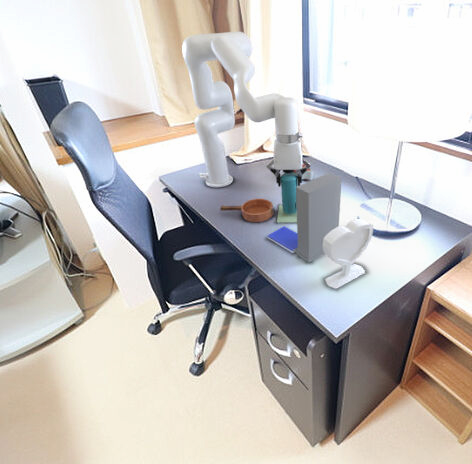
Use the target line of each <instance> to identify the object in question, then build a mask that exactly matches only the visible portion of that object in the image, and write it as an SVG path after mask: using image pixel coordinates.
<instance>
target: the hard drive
mask: <svg viewBox="0 0 472 464" xmlns="http://www.w3.org/2000/svg"><path fill="white" fill-rule="evenodd" d="M267 240H269V241H271V242H273V243H275V244H276V245H277V246H280V247H282V248H283V249H285V250H287V251H288V252H290V253H291V254H295V253H296V252H297V251H298V235H297V231H294V230H292V229H290V228H288V227H286V226H282V227H280V228H278V229H277V230H275V231H272V232H271V233H269V234H268V235H267Z"/></svg>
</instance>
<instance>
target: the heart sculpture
mask: <svg viewBox="0 0 472 464" xmlns="http://www.w3.org/2000/svg"><path fill="white" fill-rule="evenodd" d="M373 234H374V225H373V224H372V223H370V222H369V221H366V220H365V219H363V218H356V219H352V220H350V221H349V222H347V224H346V225H345V226H343V225H339V227H336V228H335V229H333V230H332V231H330V232H329V233H328V234H327V235H326V236H325V237H324V239H323V251H324V254H325V256H326V257H327V258H329V259H330V260H331V261H332V262H334V263H335V264H337V265H339V266H341V270H339V271H337V272H336V273H334V274H332V275H330V276H328V277H326V278H325V279H324V280H325V283H326V285H327V286H328V287H329V288H333V289H338V288H341V287H342V286H344V285H346V284H347V283H349V282H351V281H353V280H355V279H357V278H358V277H360V276H362V275H364V274H365V273H366V271H365V269H364V267H363V266H361V265H359V264H356V263H355V262H356V261H357V260H358V259H359V257H360V256H361V255H362V254H363V253H364V251H365V250H366V249H367V248H368V245H369V244H370V242H371V241H372V237H373Z"/></svg>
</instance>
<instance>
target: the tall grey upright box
mask: <svg viewBox="0 0 472 464" xmlns="http://www.w3.org/2000/svg"><path fill="white" fill-rule="evenodd" d="M341 194H342V177H340V176H337V175H335V174H333V173H330V172H327V173H325V174H323V175H321V176H318V177H316V178H313V179H312V180H308V181H307V182H304V183H301V184H300V186H297V187H296V203H297V223H296V230H297V231H296V233H297V235H298V251H296V252H295V253H296V255H297V256H298V257H300V258H301V259H302V260H304V261H305V262H307V263H311V262H312V261H314V260H316V259H317V258H319V257H320V256H322V255H324V254H325V253H324V251H323V239H324V237H325V236H326V235H327V234H328V233H329V232H330V231H332V230H333V229H335V228H336V227H339V226H340V211H341Z"/></svg>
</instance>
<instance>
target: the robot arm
mask: <svg viewBox="0 0 472 464" xmlns="http://www.w3.org/2000/svg"><path fill="white" fill-rule="evenodd" d="M181 53H182V57H183V60H184V64H185V66H186V68H187V71H188V74H189V80H190V86H191V91H192V96H193V97H192V98H193V100H194V104H195V106H196V107H197V109H199V110H202V111H203V110H204V111H205V110H209V111H205V112H201V113H200V114H197V116H195V118H194V122H193V123H194V127H195V130H196V133H197V136H198V139H199V142H200V146H201V149H202V155H203V160H204V164H205V170H206V172H199V173H198V177H199V178H200V180H205V181H204V182H205V185H206V186H207V187H210V188H223V187H227V186H229V185H230V184H231V183H233V181H234V177H233V176H232V175H230V173H229V167H228V160H227V155H226V149H225V144H224V142H223V140H222V139H221V138H220V137H219V136H218V135H219V134H222V133H226V132H228V131H231V130H232V129H234V127H235V124H236V117H235V109H234V99H233V93H234V97H235V100H236V104H237V105H238V107H239V108H240V109H241V111H242V112H243V113H244V115H245V116H246V117H247V118H248V119H249V120H250V121H252V122H254V123H262V122H264V121H268V120H272V119H274V124H275V125H274V126H275V139H274V141H273V158H272V159H271V160H269V162H268V163H267V164H266V169H268V170H269V171H270V172H271V173H272V174H273V175H274V176H275V180H276V184H277V185H278V187H279V188H281V176H282V174H281V171H283V170H296V171H297V173H298V176H297V183H298V186H300V185H301V184H303V179H302V175H303V174H304V173H305V172H306V171H307V170H308V169H309V168H311V163H310V162H309V161H308V160H307V159H305V158H304V157H303V156H304V155H303V146H302V141H301V138H303V133H300V132H299V114H298V111H299V110H298V109H299V107H298V102H297V99H295V98H293V97H286V96H283V95H282V94H279V93H275V92H274V93H269V94H265V95H260V96H257V97H255V96H254V95H253V94H252V92H250V90H249V88H248V87H247V84H248V83H250V81H251V80H252V79H253V77H254V75H255V73H256V67H255V65H254V63H253V62H252V60H251V59H250V57H251V55H252V53H253V44H252V41H251V39H250V37H249V36H248V35H247V34H246V33H245V32H243V31H226V32H217V33H215V32H214V33H200V34H194V35H190V36H188V37H185V39H184V40H183V42H182V45H181ZM213 61H219V63H220V65H221V66H222V67H223V68H224V70H225V71H226V72H227V74H228V75H229V76H230V77H231V79H232V80H233V82H234V83H233V93H232V90H231V88H230V86H229V85H228V83H226V82H225V81H223V80H216V81H215V80H214V78H213V72H212V69H211V67H210V66H209V64H208V63H207V62H213ZM215 108H217V109H215ZM211 109H213V110H211ZM302 165H305V167H304V168H303V169H301V168H302Z"/></svg>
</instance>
